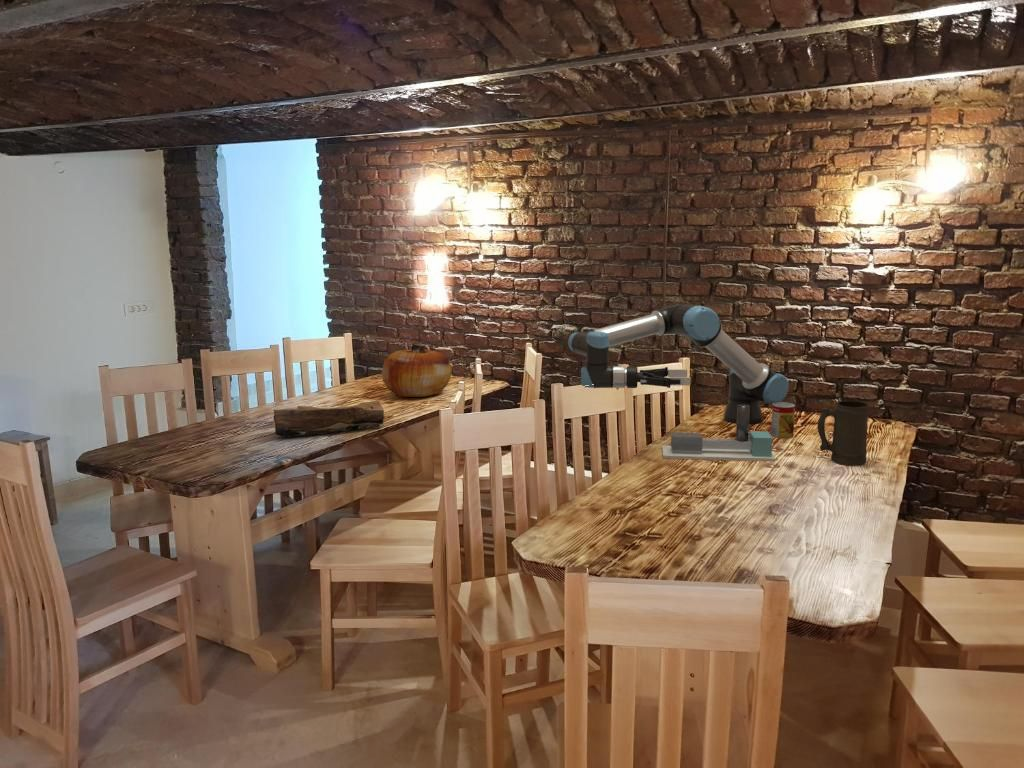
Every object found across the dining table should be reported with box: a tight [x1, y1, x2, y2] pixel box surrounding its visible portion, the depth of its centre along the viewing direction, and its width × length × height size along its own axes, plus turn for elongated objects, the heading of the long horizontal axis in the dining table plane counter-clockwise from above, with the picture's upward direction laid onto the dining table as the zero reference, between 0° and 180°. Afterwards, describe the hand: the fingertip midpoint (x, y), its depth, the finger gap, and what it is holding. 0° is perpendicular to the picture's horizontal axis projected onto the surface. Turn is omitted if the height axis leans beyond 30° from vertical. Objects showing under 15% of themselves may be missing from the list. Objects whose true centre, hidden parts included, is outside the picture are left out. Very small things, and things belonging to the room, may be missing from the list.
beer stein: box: [817, 400, 870, 467], centre depth 242 cm, size 15×11×20 cm
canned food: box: [770, 401, 796, 440], centre depth 274 cm, size 8×8×12 cm
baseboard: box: [661, 445, 777, 463], centre depth 254 cm, size 36×12×1 cm, turn 81°
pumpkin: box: [381, 343, 453, 398], centre depth 355 cm, size 33×33×25 cm
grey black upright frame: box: [702, 404, 753, 450], centre depth 251 cm, size 21×4×15 cm, turn 81°
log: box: [273, 399, 385, 438], centre depth 293 cm, size 42×18×15 cm, turn 110°
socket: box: [749, 430, 773, 457], centre depth 251 cm, size 6×8×6 cm
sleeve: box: [670, 431, 703, 454], centre depth 254 cm, size 10×6×6 cm, turn 81°
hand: (688, 377), depth 253 cm, fingers open, 13 cm apart
